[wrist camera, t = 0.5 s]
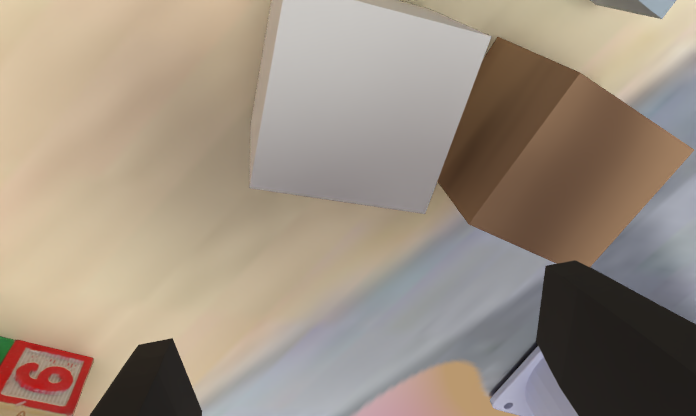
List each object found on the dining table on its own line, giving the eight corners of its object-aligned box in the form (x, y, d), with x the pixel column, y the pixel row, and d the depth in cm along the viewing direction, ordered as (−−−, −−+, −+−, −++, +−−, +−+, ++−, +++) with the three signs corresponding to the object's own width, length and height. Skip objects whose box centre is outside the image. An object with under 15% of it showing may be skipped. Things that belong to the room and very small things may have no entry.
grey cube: (427, 8, 16) (491, 36, 12) (384, 147, 18) (424, 214, 14) (276, -34, 15) (286, -19, 10) (250, 122, 17) (249, 188, 12)
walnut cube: (593, 99, 19) (694, 149, 14) (514, 202, 20) (582, 275, 16) (496, 36, 17) (580, 72, 12) (419, 156, 19) (468, 224, 14)
